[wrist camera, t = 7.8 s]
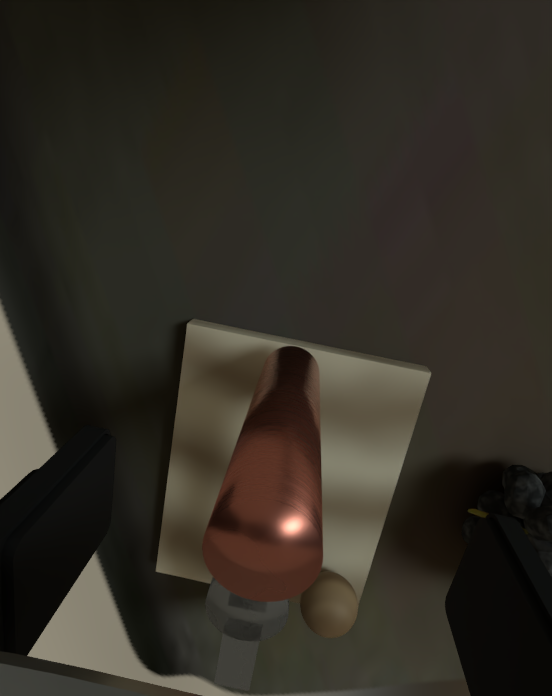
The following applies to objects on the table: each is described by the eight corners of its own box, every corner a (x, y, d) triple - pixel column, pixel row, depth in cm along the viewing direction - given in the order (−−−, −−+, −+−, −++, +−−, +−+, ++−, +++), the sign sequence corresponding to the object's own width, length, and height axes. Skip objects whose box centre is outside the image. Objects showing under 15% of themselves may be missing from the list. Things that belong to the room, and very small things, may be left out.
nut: (307, 553, 29) (305, 599, 25) (361, 565, 28) (367, 613, 25) (296, 595, 30) (293, 645, 26) (348, 607, 30) (352, 658, 26)
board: (193, 318, 26) (167, 339, 21) (426, 366, 25) (449, 397, 21) (161, 558, 31) (136, 614, 27) (353, 601, 31) (359, 664, 26)
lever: (255, 336, 23) (181, 484, 10) (337, 351, 23) (363, 521, 10) (211, 610, 29) (128, 925, 16) (276, 624, 29) (244, 953, 16)
